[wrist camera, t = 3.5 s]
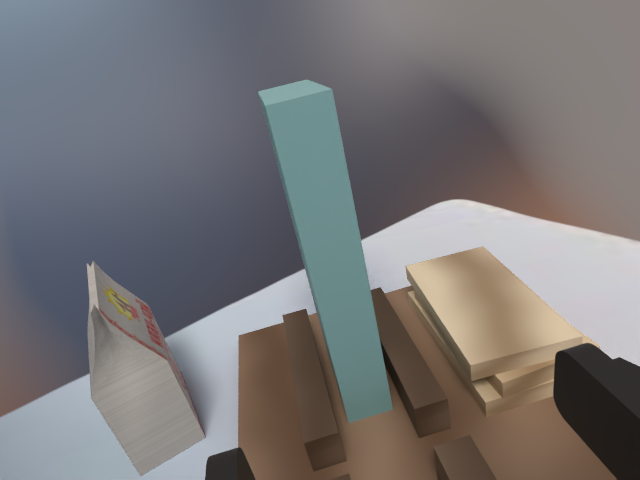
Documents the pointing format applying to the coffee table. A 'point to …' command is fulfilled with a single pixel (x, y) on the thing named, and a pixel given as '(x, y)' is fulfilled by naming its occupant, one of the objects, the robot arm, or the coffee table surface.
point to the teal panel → (329, 239)
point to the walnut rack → (389, 413)
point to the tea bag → (136, 377)
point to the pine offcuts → (490, 328)
